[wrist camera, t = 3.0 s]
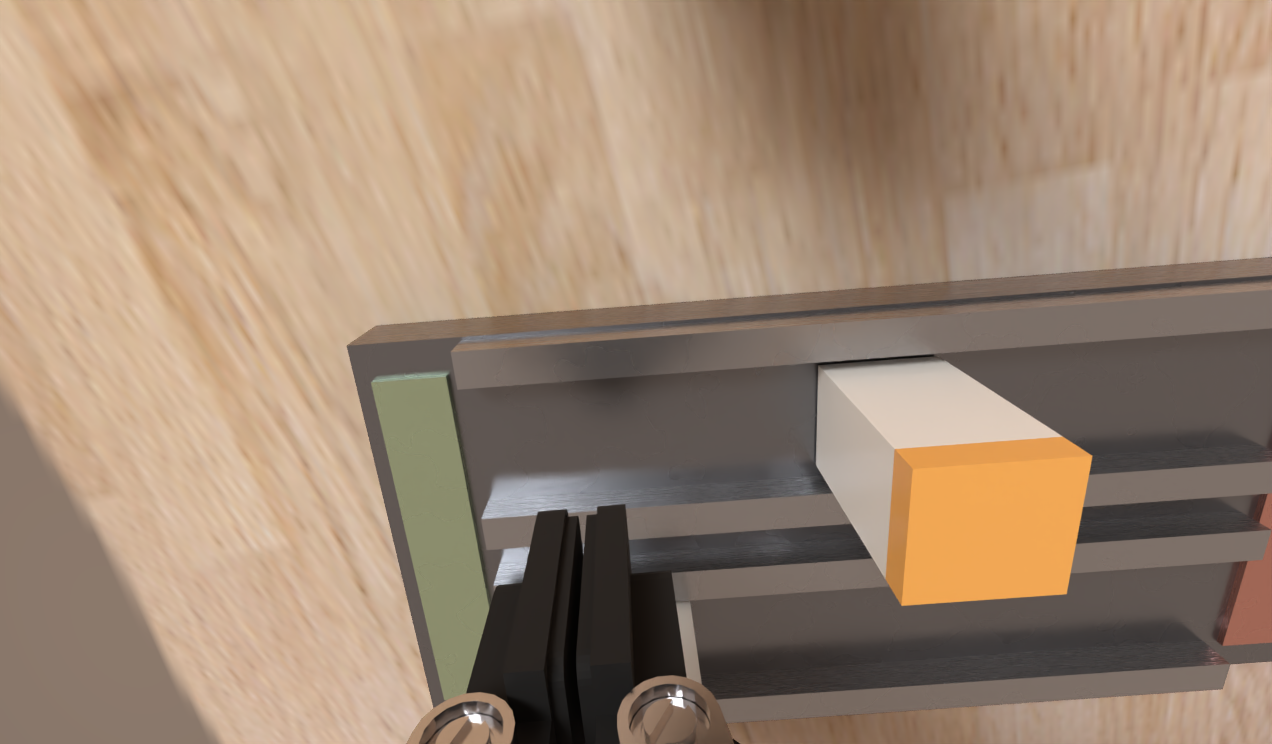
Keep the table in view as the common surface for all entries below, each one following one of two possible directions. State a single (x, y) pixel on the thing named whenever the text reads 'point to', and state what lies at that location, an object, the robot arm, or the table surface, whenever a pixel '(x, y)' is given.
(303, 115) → the table surface
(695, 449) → the gray rail tray
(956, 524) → the block
